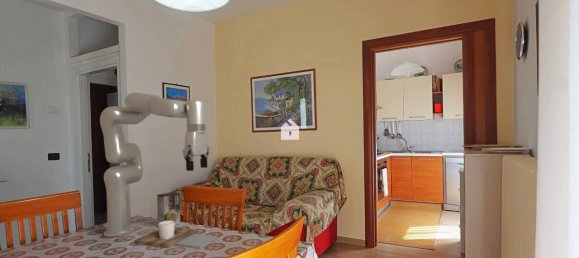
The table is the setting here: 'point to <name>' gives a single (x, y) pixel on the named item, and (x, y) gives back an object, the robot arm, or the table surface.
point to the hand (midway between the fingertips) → (197, 169)
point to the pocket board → (166, 243)
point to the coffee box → (169, 207)
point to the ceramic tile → (196, 241)
